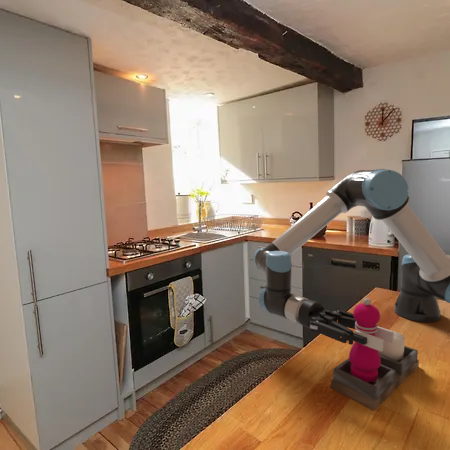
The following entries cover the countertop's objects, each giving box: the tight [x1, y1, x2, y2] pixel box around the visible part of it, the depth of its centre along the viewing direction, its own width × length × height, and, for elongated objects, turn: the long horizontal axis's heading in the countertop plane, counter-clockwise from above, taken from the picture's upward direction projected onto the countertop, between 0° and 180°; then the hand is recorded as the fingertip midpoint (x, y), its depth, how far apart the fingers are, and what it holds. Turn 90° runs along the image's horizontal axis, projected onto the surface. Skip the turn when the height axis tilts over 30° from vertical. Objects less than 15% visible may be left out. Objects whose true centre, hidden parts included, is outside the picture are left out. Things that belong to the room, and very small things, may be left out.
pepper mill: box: [348, 297, 381, 382], centre depth 81 cm, size 7×7×20 cm
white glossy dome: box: [378, 331, 406, 363], centre depth 91 cm, size 7×7×7 cm
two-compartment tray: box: [330, 345, 420, 411], centre depth 87 cm, size 26×11×5 cm, turn 130°
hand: (387, 341), depth 77 cm, fingers closed on pepper mill, 5 cm apart
